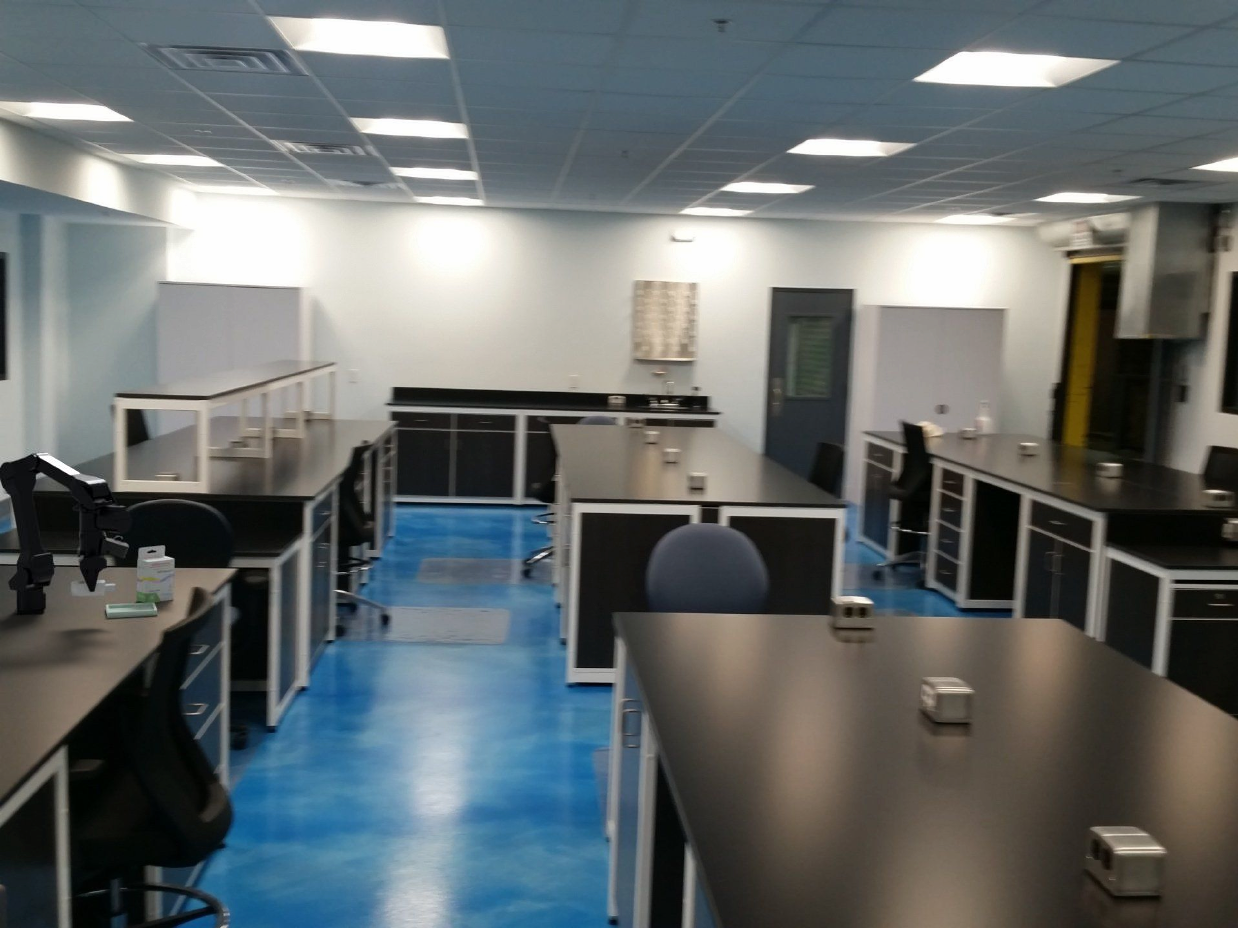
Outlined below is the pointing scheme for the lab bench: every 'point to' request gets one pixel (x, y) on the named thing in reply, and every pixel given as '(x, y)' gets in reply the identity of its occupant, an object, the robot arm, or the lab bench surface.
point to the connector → (82, 589)
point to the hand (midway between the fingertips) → (91, 590)
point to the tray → (131, 610)
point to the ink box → (154, 575)
